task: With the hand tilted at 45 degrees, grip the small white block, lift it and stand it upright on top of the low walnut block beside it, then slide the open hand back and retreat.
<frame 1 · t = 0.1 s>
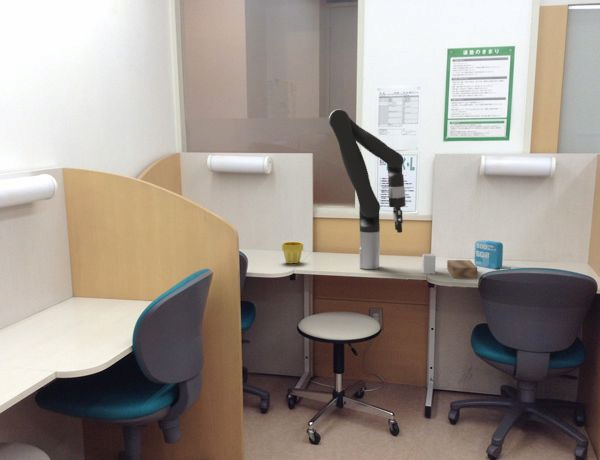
hand: (398, 231, 272), 17 cm above the table, tool pointing down, fingers open, 8 cm apart
plant pot: (292, 263, 289), on the table
data package: (488, 267, 274), on the table
white block: (428, 272, 264), on the table
walnut block: (461, 274, 260), on the table
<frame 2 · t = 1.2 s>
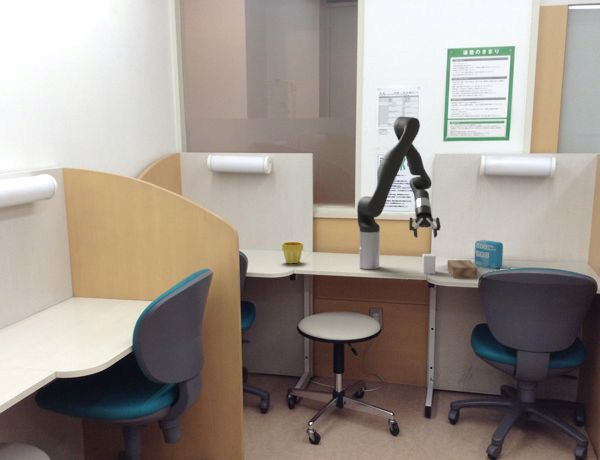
hand: (425, 236, 273), 14 cm above the table, tool tilted 45°, fingers open, 8 cm apart
nothing on the table moved.
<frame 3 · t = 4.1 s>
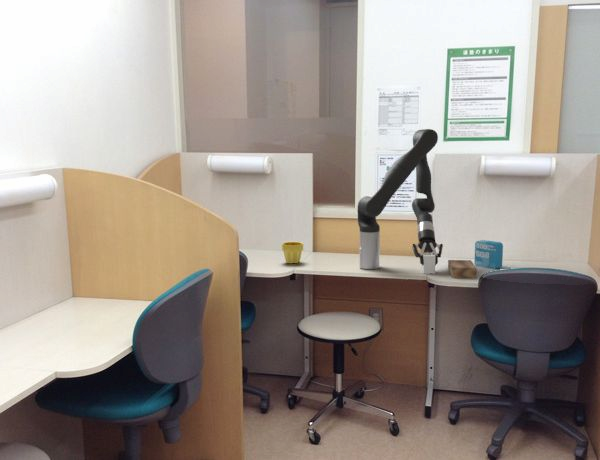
hand: (429, 264, 261), 4 cm above the table, tool tilted 45°, fingers closed on white block, 5 cm apart
white block: (428, 272, 264), on the table, touching gripper
everything else where it was.
when the fingers open (10 cm above the table, at t = 10.0 s): white block drops 1 cm, point 5 cm above the table.
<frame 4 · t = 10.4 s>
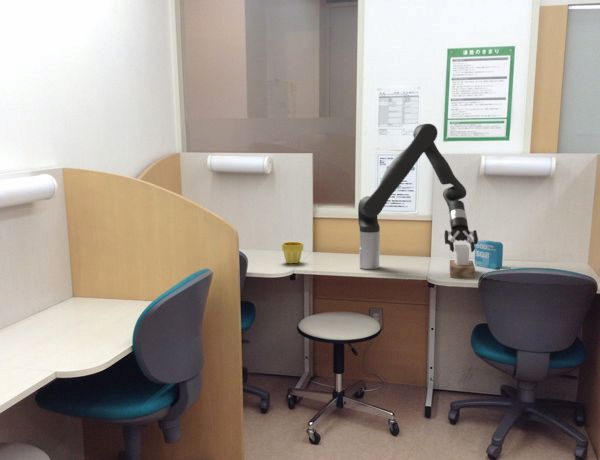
hand: (462, 250, 257), 11 cm above the table, tool tilted 45°, fingers open, 8 cm apart
white block: (461, 263, 260), point 5 cm above the table
everything else where it was.
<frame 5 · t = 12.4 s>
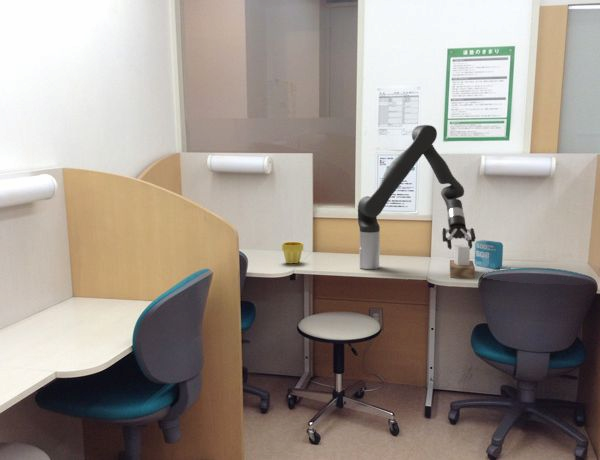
hand: (460, 248, 263), 11 cm above the table, tool tilted 45°, fingers open, 8 cm apart
nothing on the table moved.
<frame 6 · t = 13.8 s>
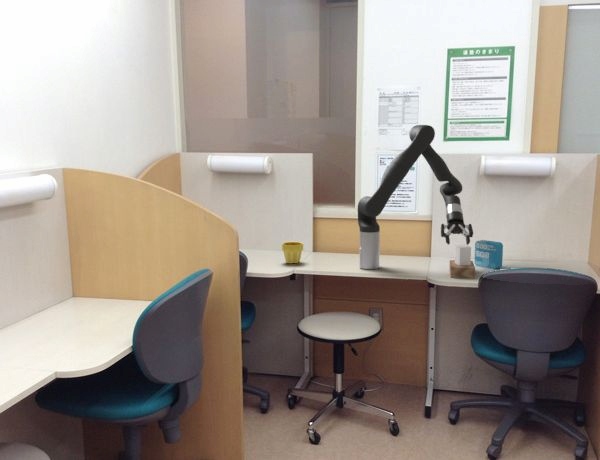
hand: (458, 243, 267), 12 cm above the table, tool tilted 45°, fingers open, 8 cm apart
nothing on the table moved.
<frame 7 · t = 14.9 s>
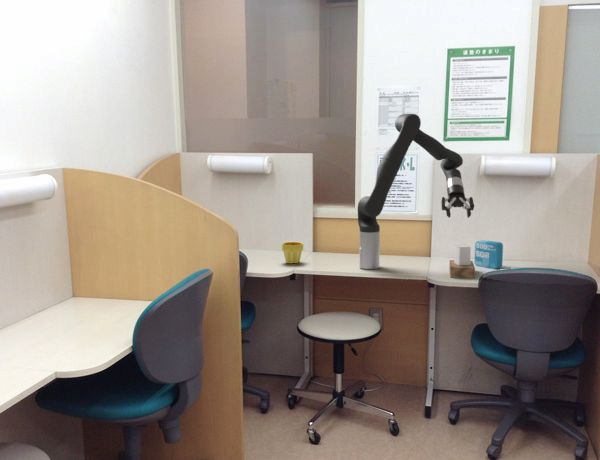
hand: (459, 216, 265), 25 cm above the table, tool tilted 45°, fingers open, 8 cm apart
white block: (462, 263, 259), point 5 cm above the table, touching walnut block
walnut block: (461, 275, 260), on the table, touching white block
everything else where it was.
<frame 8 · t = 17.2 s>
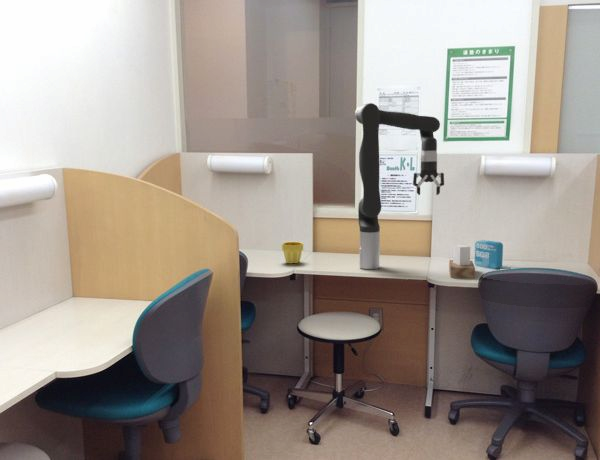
hand: (428, 194, 279), 33 cm above the table, tool pointing down, fingers open, 8 cm apart
white block: (461, 263, 259), point 5 cm above the table
walnut block: (461, 274, 260), on the table
everything else where it was.
at the end: white block inside the target area on the walnut block (0.2 cm from its centre), point 5.0 cm above the walnut block's base; white block tilted 0°; the gripper is holding nothing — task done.
